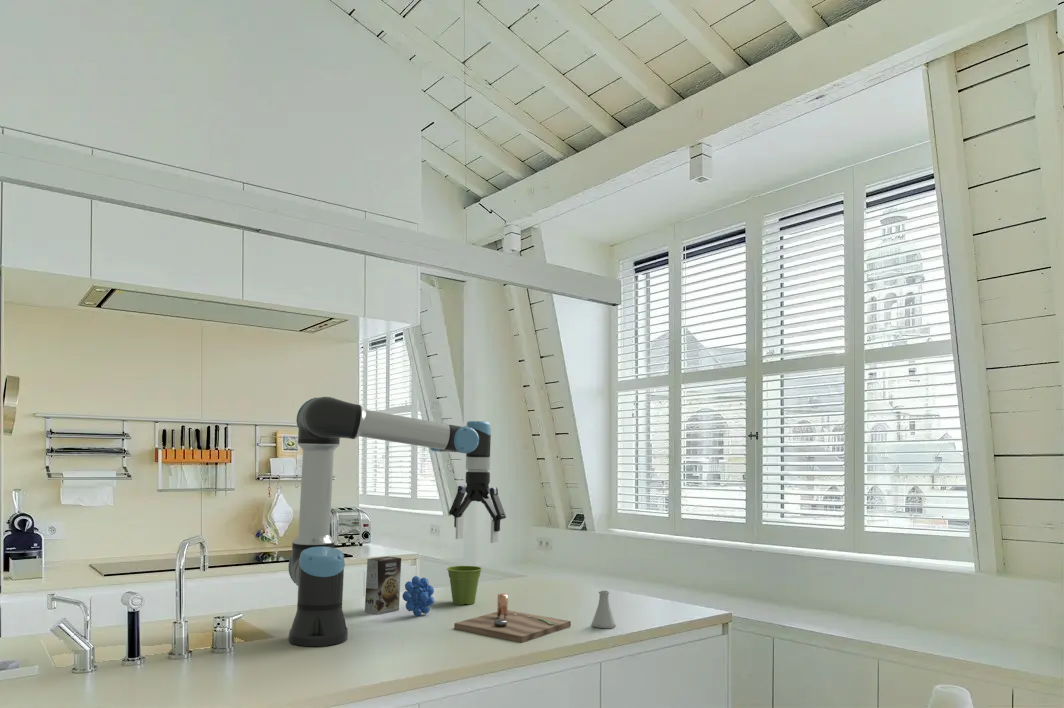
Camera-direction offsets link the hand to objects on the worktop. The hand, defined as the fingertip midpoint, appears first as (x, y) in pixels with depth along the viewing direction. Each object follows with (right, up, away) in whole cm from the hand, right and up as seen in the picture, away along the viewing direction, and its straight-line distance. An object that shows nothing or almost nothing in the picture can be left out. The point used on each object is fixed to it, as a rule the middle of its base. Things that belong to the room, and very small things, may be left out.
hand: (476, 540), depth 251 cm
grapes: (-17, -22, -4) cm, 28 cm away
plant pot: (-5, -25, +17) cm, 30 cm away
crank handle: (+8, -19, -15) cm, 26 cm away
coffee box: (-29, -23, +2) cm, 37 cm away
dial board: (+12, -21, -16) cm, 29 cm away
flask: (+38, -23, -12) cm, 46 cm away
